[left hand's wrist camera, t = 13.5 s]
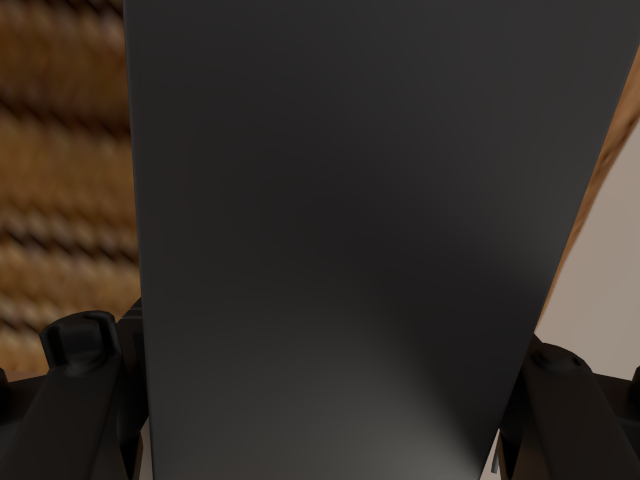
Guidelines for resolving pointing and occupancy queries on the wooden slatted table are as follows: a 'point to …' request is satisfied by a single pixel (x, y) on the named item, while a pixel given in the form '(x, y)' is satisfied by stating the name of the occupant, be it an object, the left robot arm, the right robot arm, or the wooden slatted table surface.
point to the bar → (355, 221)
